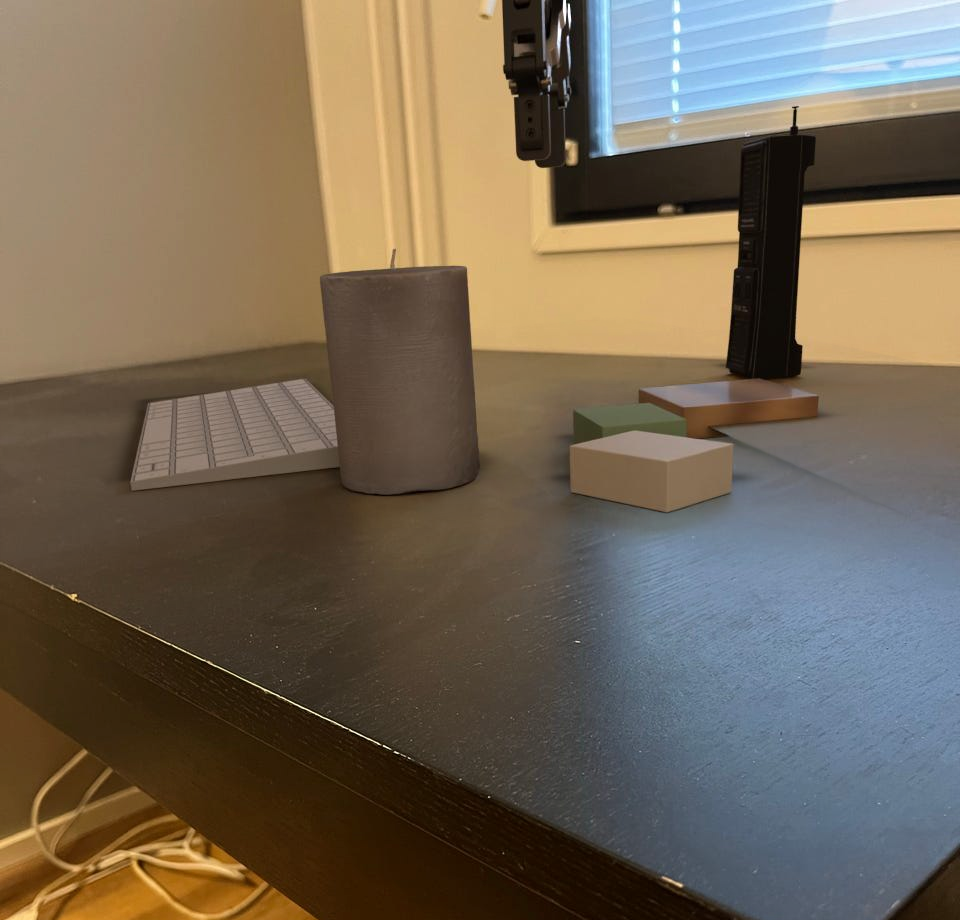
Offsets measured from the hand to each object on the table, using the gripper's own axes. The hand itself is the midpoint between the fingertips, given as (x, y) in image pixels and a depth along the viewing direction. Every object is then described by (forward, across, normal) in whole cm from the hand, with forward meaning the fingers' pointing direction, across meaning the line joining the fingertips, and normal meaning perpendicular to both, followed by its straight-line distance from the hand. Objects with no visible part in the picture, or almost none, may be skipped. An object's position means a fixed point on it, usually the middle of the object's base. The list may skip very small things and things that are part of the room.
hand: (542, 163), depth 68 cm
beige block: (+20, -14, -8) cm, 26 cm away
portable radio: (+20, +36, -18) cm, 45 cm away
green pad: (+20, -3, -6) cm, 21 cm away
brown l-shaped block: (+20, +9, -13) cm, 25 cm away
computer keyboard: (+20, +11, +31) cm, 38 cm away
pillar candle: (+20, -10, +9) cm, 24 cm away
